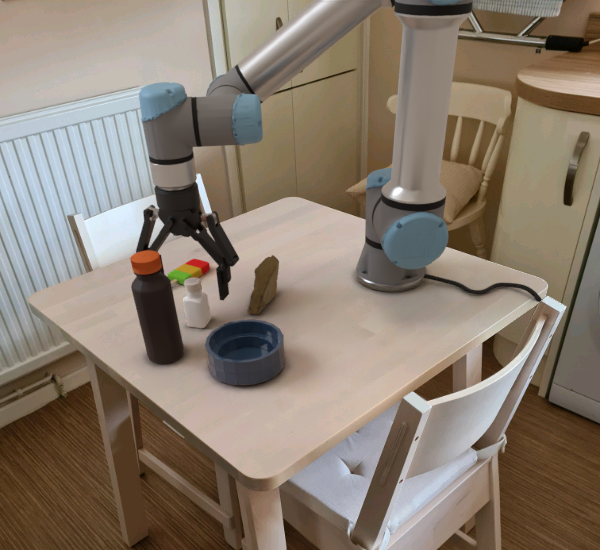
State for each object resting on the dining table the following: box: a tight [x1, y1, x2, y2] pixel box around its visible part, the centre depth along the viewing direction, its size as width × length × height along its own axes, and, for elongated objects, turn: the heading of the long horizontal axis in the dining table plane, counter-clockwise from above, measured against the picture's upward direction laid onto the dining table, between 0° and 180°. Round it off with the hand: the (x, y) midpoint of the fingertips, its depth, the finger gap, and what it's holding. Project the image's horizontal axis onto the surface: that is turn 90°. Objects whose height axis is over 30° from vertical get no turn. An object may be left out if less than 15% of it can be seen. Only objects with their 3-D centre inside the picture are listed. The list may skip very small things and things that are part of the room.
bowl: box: [204, 318, 286, 386], centre depth 111 cm, size 14×14×6 cm
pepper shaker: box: [182, 277, 212, 329], centre depth 122 cm, size 4×4×10 cm
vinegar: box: [129, 250, 185, 365], centre depth 110 cm, size 7×7×20 cm
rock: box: [247, 255, 280, 316], centre depth 128 cm, size 11×9×10 cm
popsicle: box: [167, 258, 211, 286], centre depth 139 cm, size 6×15×2 cm, turn 147°
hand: (192, 292), depth 120 cm, fingers open, 13 cm apart
